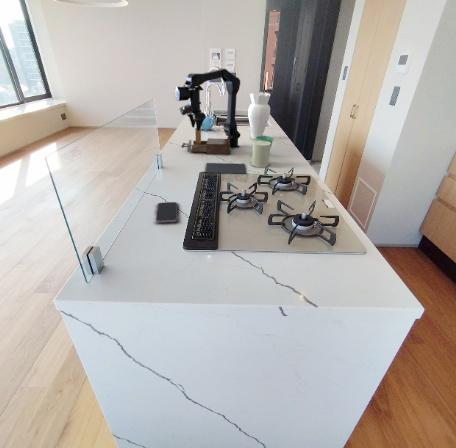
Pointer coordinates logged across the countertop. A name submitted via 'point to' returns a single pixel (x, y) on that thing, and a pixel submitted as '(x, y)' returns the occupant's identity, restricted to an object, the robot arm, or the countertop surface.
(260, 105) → the vase
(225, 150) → the cabinet
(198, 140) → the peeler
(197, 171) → the countertop surface
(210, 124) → the teapot
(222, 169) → the mat
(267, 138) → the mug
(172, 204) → the smartphone
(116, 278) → the countertop surface
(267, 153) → the can
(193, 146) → the drawer
